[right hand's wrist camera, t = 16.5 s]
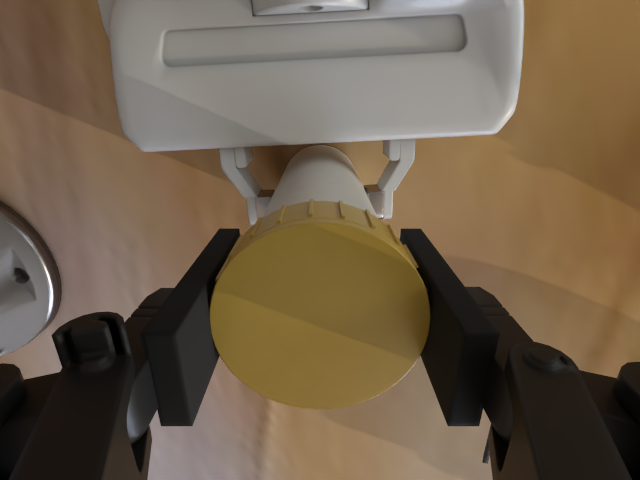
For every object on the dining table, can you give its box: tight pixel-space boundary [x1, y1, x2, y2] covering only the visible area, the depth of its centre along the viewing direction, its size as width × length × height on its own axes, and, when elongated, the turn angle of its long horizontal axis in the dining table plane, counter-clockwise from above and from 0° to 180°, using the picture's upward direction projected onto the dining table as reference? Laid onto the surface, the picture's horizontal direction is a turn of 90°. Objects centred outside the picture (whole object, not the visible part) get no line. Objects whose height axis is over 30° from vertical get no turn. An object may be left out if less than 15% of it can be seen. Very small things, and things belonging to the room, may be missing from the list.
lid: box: [209, 199, 430, 409], centre depth 11 cm, size 6×6×2 cm
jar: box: [262, 145, 378, 218], centre depth 19 cm, size 6×6×18 cm
